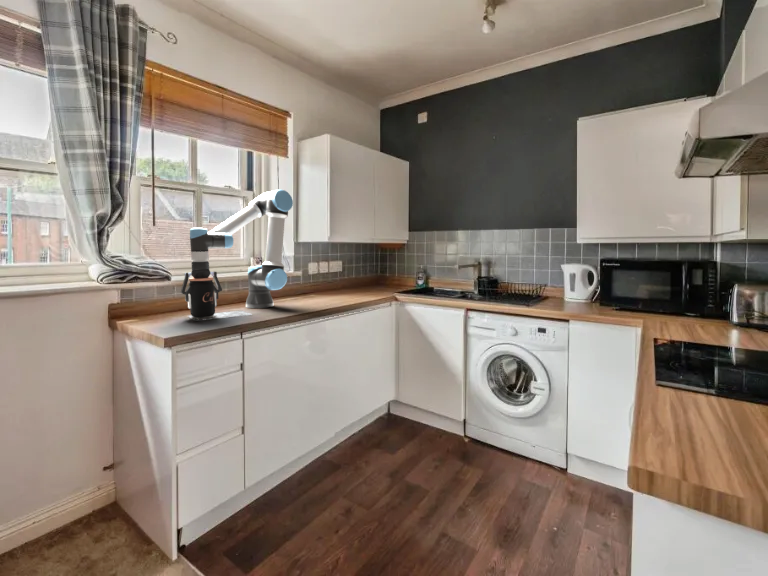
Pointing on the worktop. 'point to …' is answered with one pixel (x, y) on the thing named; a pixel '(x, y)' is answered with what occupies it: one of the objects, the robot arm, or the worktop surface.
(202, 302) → the coffee jar
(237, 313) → the label board
